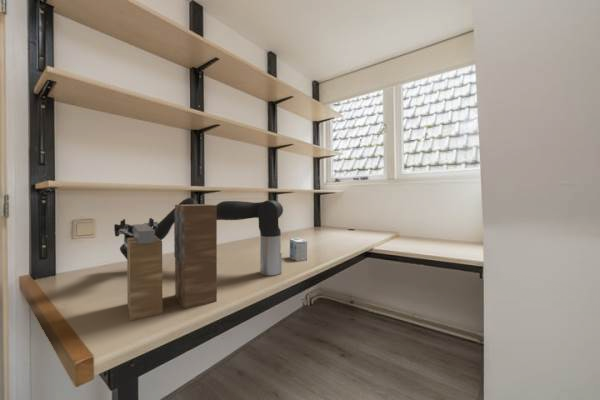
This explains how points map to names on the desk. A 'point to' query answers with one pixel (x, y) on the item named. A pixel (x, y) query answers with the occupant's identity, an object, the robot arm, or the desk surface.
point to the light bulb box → (298, 249)
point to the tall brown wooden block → (195, 254)
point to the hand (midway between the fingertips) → (137, 220)
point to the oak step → (144, 278)
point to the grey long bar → (143, 233)
